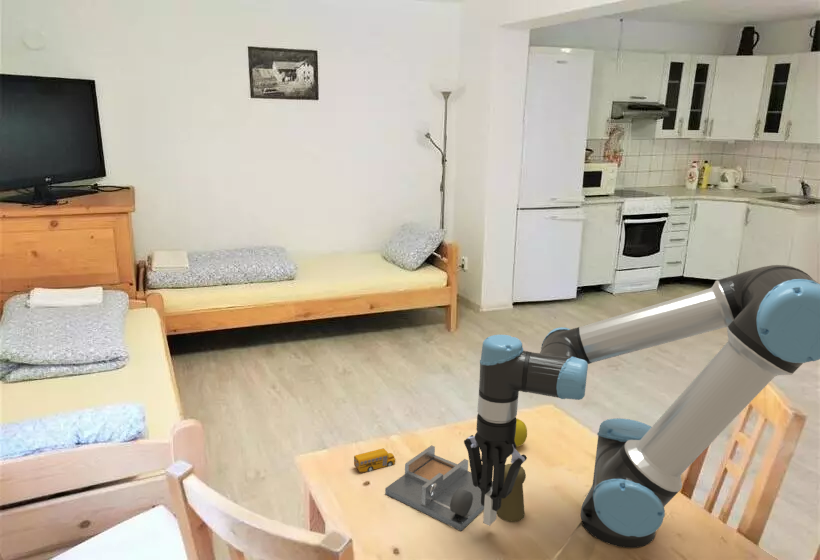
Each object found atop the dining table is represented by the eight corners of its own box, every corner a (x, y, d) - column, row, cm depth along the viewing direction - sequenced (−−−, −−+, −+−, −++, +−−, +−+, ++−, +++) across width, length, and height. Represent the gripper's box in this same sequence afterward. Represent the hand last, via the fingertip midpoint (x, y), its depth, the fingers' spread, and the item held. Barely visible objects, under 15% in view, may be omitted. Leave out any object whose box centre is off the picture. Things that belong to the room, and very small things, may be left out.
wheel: (472, 508, 128) (473, 488, 127) (459, 520, 124) (460, 499, 123) (460, 503, 130) (461, 483, 128) (447, 515, 126) (448, 494, 124)
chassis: (502, 491, 137) (504, 468, 136) (460, 531, 124) (462, 505, 122) (430, 461, 149) (431, 439, 147) (385, 494, 135) (385, 470, 134)
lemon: (500, 443, 158) (502, 415, 156) (519, 440, 160) (521, 412, 157) (510, 454, 153) (512, 425, 151) (529, 451, 154) (532, 422, 152)
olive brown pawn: (502, 501, 134) (505, 456, 131) (528, 510, 131) (532, 465, 128) (491, 515, 129) (494, 469, 126) (518, 525, 126) (522, 478, 123)
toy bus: (395, 465, 147) (396, 451, 146) (358, 475, 143) (358, 460, 142) (390, 458, 150) (390, 445, 149) (353, 468, 145) (353, 454, 144)
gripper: (536, 418, 115) (527, 524, 122) (477, 398, 123) (471, 499, 129) (518, 433, 110) (509, 544, 116) (457, 411, 117) (452, 517, 123)
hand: (489, 520), depth 122 cm, fingers closed
